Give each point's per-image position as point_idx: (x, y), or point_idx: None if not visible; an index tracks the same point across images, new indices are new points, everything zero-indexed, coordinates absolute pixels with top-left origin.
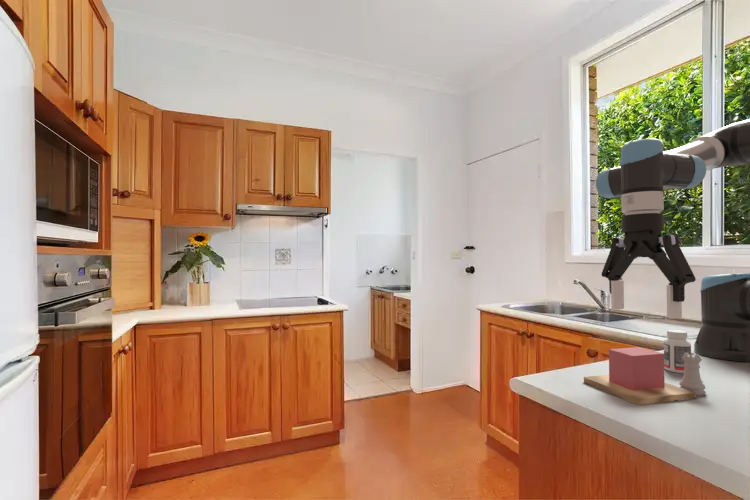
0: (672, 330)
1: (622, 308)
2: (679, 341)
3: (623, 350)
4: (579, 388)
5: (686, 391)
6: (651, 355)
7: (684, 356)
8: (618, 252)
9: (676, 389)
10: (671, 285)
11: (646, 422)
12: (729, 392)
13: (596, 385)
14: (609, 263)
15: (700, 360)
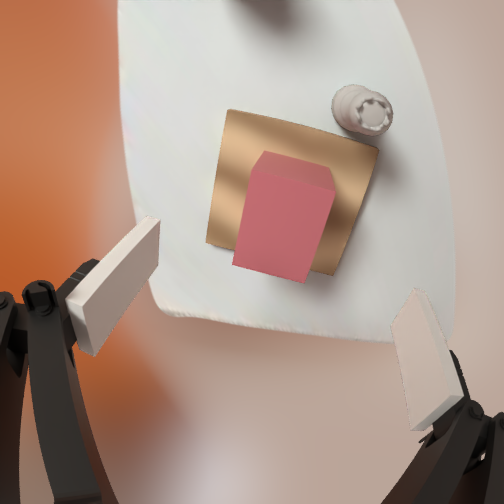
0: None
1: (158, 227)
2: None
3: (258, 248)
4: (230, 273)
5: (366, 157)
6: (322, 230)
7: (359, 126)
8: (3, 486)
9: (349, 161)
10: (428, 426)
11: (366, 317)
12: (391, 43)
13: None
14: (18, 417)
15: (392, 118)
